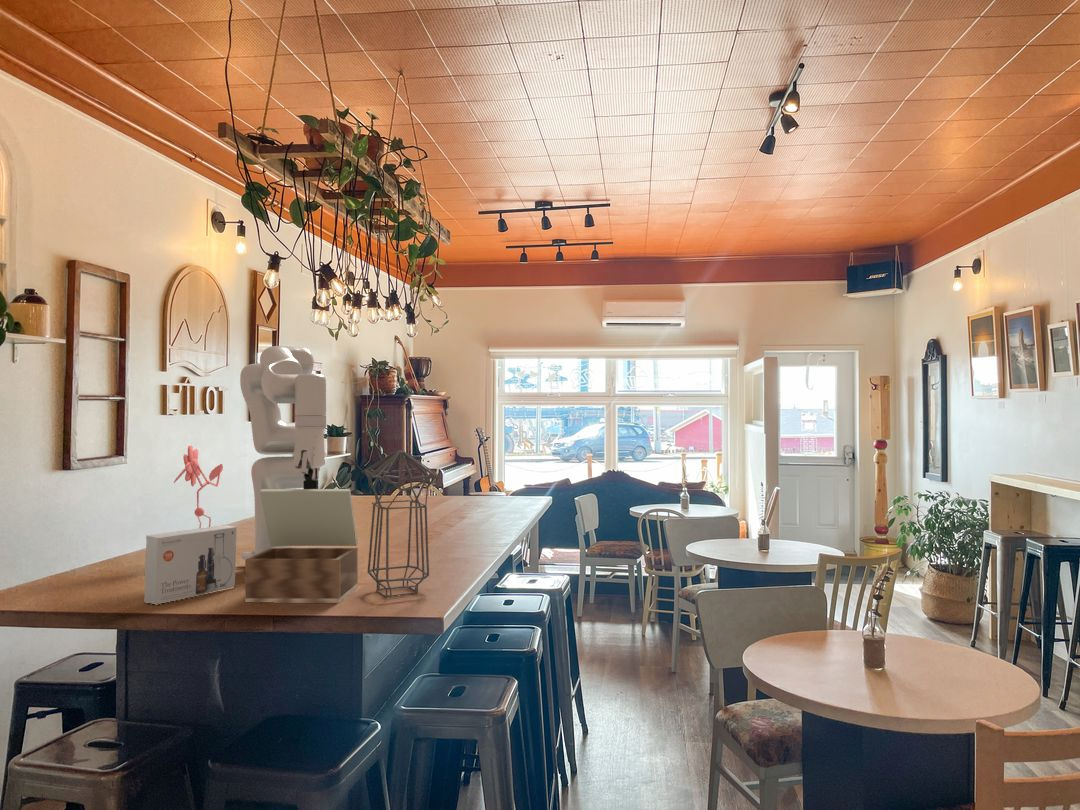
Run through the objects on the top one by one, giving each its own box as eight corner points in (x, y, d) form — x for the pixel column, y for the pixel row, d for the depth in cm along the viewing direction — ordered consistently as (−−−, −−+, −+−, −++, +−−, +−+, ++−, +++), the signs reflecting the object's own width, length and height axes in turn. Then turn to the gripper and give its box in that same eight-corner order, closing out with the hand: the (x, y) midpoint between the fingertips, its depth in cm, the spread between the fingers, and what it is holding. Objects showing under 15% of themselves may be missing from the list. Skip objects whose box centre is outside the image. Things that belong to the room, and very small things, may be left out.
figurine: (230, 552, 237) (228, 443, 238) (201, 569, 212) (198, 446, 212) (180, 554, 236) (178, 444, 236) (145, 571, 210) (142, 448, 210)
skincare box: (156, 606, 170) (156, 537, 170) (143, 603, 173) (143, 535, 173) (237, 588, 188) (237, 525, 188) (224, 586, 190) (224, 524, 191)
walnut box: (245, 602, 173) (245, 559, 173) (271, 586, 189) (271, 547, 189) (339, 602, 172) (339, 559, 172) (357, 587, 188) (357, 547, 188)
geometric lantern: (418, 582, 193) (420, 448, 193) (438, 597, 179) (441, 452, 179) (357, 588, 186) (360, 449, 186) (373, 604, 172) (376, 453, 172)
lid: (259, 491, 181) (261, 489, 182) (270, 545, 188) (271, 543, 189) (349, 491, 181) (350, 489, 182) (356, 545, 187) (357, 543, 188)
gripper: (305, 423, 194) (306, 493, 193) (285, 423, 179) (285, 499, 178) (334, 422, 193) (334, 493, 193) (316, 423, 179) (316, 499, 178)
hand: (310, 496), depth 186 cm, fingers closed
